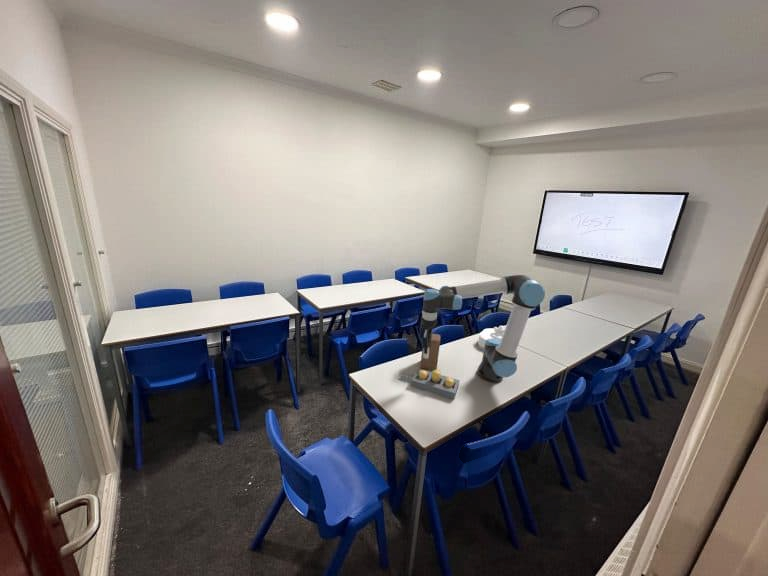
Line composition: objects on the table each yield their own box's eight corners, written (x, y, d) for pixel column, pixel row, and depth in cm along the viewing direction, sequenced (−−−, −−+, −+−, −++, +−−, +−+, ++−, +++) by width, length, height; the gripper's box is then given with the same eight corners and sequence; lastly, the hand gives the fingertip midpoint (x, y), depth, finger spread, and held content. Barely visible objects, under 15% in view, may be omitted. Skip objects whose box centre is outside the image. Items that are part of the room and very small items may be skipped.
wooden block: (436, 371, 182) (440, 341, 176) (420, 368, 183) (423, 338, 177) (437, 362, 191) (440, 334, 185) (421, 360, 193) (424, 331, 187)
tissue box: (486, 334, 236) (489, 316, 231) (519, 345, 222) (523, 325, 217) (474, 345, 217) (477, 325, 212) (509, 358, 202) (514, 336, 198)
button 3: (427, 379, 170) (428, 371, 169) (425, 383, 166) (425, 375, 165) (419, 376, 172) (420, 369, 170) (417, 380, 168) (418, 373, 166)
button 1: (453, 386, 165) (454, 378, 163) (451, 391, 160) (453, 383, 159) (445, 384, 166) (446, 376, 165) (443, 388, 162) (444, 380, 161)
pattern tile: (414, 376, 174) (414, 375, 174) (410, 382, 168) (410, 381, 168) (403, 373, 177) (403, 372, 177) (399, 379, 171) (399, 378, 171)
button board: (458, 386, 168) (459, 380, 167) (454, 399, 156) (455, 393, 155) (417, 374, 177) (418, 368, 176) (410, 386, 165) (411, 380, 164)
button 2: (440, 378, 167) (441, 371, 165) (438, 383, 162) (439, 375, 161) (432, 376, 168) (433, 368, 167) (430, 380, 164) (431, 372, 163)
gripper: (425, 312, 165) (422, 350, 172) (418, 321, 153) (415, 361, 160) (439, 315, 162) (435, 354, 169) (432, 324, 151) (429, 365, 158)
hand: (425, 357), depth 165 cm, fingers closed
